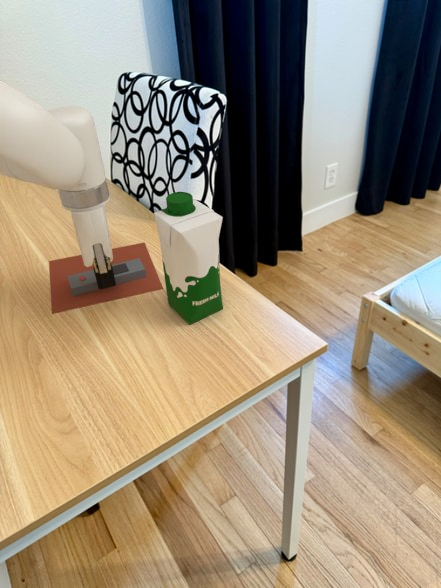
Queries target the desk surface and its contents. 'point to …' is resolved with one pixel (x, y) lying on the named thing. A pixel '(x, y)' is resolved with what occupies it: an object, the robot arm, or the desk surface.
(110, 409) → the desk surface
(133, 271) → the remote
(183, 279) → the milk carton
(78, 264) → the mat
